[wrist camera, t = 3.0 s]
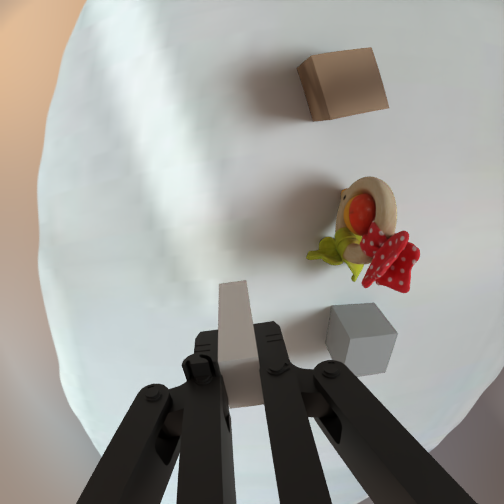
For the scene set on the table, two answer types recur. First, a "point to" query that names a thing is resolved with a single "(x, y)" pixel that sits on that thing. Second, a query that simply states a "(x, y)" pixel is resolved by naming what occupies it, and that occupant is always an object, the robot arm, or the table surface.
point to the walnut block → (342, 84)
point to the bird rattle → (370, 237)
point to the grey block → (360, 338)
